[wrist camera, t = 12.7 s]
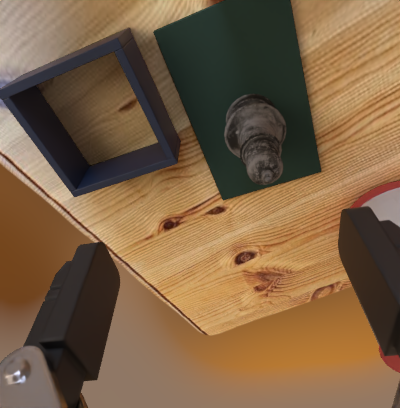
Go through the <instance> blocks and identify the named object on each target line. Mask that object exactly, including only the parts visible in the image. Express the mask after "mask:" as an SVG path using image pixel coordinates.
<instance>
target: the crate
mask: <svg viewBox="0 0 400 408" xmlns="http://www.w3.org/2000/svg"><path fill="white" fill-rule="evenodd" d="M114 51H115V55H116V57H117V59H118V61H119V63H120V65H121V67H122V69H123V71H124V73H125V75H126V77H127V79H128V81H129V83H130V85H131V87H132V89H133V91H134V93H135V95H136V97H137V99H138V101H139V103H140V105H141V107H142V109H143V111H144V113H145V115H146V117H147V119H148V121H149V123H150V125H151V127H152V129H153V131H154V133H155V136H156V138H157V140H158V143H155V144H152V145H150V146H147V147H144V148H141V149H138V150H135V151H132V152H130V153H127V154H124V155H121V156H118V157H115V158H112V159H109V160H107V161H104V162H101V163H98V164H95V165H92V166H89V164H88V163H87V161H86V160H85V158H84V157H83V155H82V154H81V152H80V151H79V149H78V148H77V146H76V145H75V143H74V142H73V140H72V139H71V137H70V136H69V134H68V133H67V131H66V130H65V128H64V127H63V125H62V124H61V122H60V121H59V119H58V118H57V116H56V115H55V113H54V112H53V110H52V109H51V107H50V106H49V104H48V103H47V101H46V100H45V98H44V96H43V95H42V93H41V92H40V90H39V89H38V87H37V86H36V85H38V84H40V83H42V82H45V81H47V80H49V79H52V78H54V77H56V76H59V75H61V74H63V73H66V72H68V71H70V70H72V69H75V68H77V67H79V66H82V65H84V64H86V63H89V62H91V61H93V60H96V59H98V58H100V57H103V56H105V55H107V54H109V53H112V52H114ZM0 98H1V99H2V100H3V102H4V103H5V105H6V106H7V107H8V109H9V110H10V111H11V113H12V114H13V115H14V117H15V118H16V119H17V121H18V122H19V123H20V125H21V126H22V127H23V129H24V130H25V131H26V133H27V134H28V136H29V137H30V138H31V140H32V141H33V142H34V144H35V145H36V146H37V148H38V149H39V150H40V152H41V153H42V154H43V156H44V157H45V158H46V160H47V161H48V162H49V164H50V165H51V166H52V168H53V169H54V171H55V172H56V173H57V175H58V176H59V177H60V179H61V180H62V181H63V183H64V184H65V185H66V187H67V188H68V189H69V191H71V193H72V195H73V196H74V197H77V196H80V195H83V194H86V193H89V192H92V191H95V190H98V189H101V188H104V187H107V186H111V185H114V184H117V183H120V182H123V181H126V180H129V179H132V178H135V177H138V176H141V175H144V174H147V173H150V172H153V171H156V170H159V169H162V168H165V167H168V166H172V165H175V164H177V163H178V156H179V149H180V142H181V141H180V139H179V137H178V134H177V132H176V130H175V128H174V125H173V123H172V121H171V119H170V117H169V114H168V112H167V110H166V108H165V105H164V103H163V101H162V99H161V97H160V94H159V92H158V90H157V88H156V85H155V83H154V81H153V79H152V77H151V74H150V72H149V70H148V68H147V65H146V63H145V61H144V59H143V57H142V54H141V52H140V50H139V48H138V45H137V43H136V41H135V39H134V37H133V34H132V32H131V30H130V28H127V29H124V30H122V31H120V32H118V33H115V34H113V35H111V36H109V37H106V38H104V39H102V40H100V41H97V42H95V43H93V44H91V45H88V46H86V47H84V48H82V49H79V50H77V51H75V52H73V53H71V54H68V55H66V56H64V57H62V58H59V59H57V60H55V61H53V62H50V63H48V64H46V65H44V66H41V67H39V68H37V69H35V70H32V71H30V72H28V73H26V74H23V75H21V76H20V77H18V78H16V79H15V80H13V81H12V82H10V83H8V84H7V85H5V86H4V87H2V88H0Z"/></svg>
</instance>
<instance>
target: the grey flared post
mask: <svg viewBox="0 0 400 408" xmlns="http://www.w3.org/2000/svg"><path fill="white" fill-rule="evenodd" d="M285 135H286V123H285V120H284V118H283V116H282V115H281V113H280V112H279V111H278V110H277V109H276V108H275V106H274V104H273V103H272V102H271V101H270V100H269V99H268V98H266V97H265V96H262V95H259V94H248V95H244V96H242V97H240V98H238V99H237V100H236V101H234V102H233V103H232V105H231V106H230V107H229V109H228V112H227V114H226V127H225V134H224V136H225V142H226V144H227V146H228V148H229V150H230V151H231V152H232V153H233V154H234V155H236V156H238V157H239V158H240V159H241V161H242V163H243V164H244V165H245V166H246V168H247V173H248V176H249V178H250V179H251V180H252V181H253V182H255V183H256V184H260V185H267V184H270V183H273V182H275V181H276V180H277V179H278V178H279V177H280V176H281V174H282V171H283V162H282V160H281V157H280V156H281V151H282V149H281V145H282V143H283V141H284V139H285Z"/></svg>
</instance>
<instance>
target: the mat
mask: <svg viewBox="0 0 400 408" xmlns="http://www.w3.org/2000/svg"><path fill="white" fill-rule="evenodd" d="M154 35H155V37H156V40H157V42H158V45H159V47H160V50H161V52H162V54H163V57H164V59H165V62H166V64H167V66H168V69H169V71H170V74H171V76H172V78H173V81H174V83H175V86H176V88H177V91H178V93H179V95H180V98H181V100H182V103H183V105H184V107H185V110H186V112H187V115H188V117H189V120H190V122H191V124H192V127H193V129H194V132H195V134H196V136H197V139H198V141H199V144H200V146H201V148H202V151H203V153H204V156H205V158H206V161H207V163H208V165H209V168H210V170H211V173H212V175H213V177H214V180H215V182H216V185H217V187H218V190H219V192H220V194H221V197H222V199H223V200H226V199H229V198H233V197H236V196H240V195H243V194H247V193H250V192H253V191H257V190H260V189H264V188H267V187H271V186H274V185H278V184H281V183H284V182H288V181H291V180H295V179H298V178H302V177H305V176H309V175H312V174H315V173H319V172H321V167H320V161H319V156H318V150H317V145H316V139H315V134H314V128H313V123H312V117H311V112H310V106H309V101H308V95H307V90H306V84H305V79H304V73H303V68H302V62H301V57H300V51H299V46H298V40H297V35H296V29H295V24H294V18H293V13H292V7H291V2H290V0H224V1H222V2H219V3H217V4H215V5H212V6H210V7H208V8H205V9H203V10H201V11H199V12H196V13H194V14H192V15H189V16H187V17H185V18H182V19H180V20H178V21H176V22H173V23H171V24H169V25H166V26H164V27H162V28H159V29H157V30H155V31H154ZM248 94H259V95H262V96H265V97H266V98H268V99H269V100H270V101H271V102H272V103H273V104H274V106H275V108H276V109H277V110H278V111H279V112H280V113H281V115H282V116H283V118H284V120H285V123H286V135H285V139H284V141H283V143H282V145H281V149H282V151H281V156H280V157H281V160H282V162H283V171H282V174H281V176H280V177H279V178H278V179H277V180H276V181H275V182H273V183H270V184H267V185H260V184H256V183H255V182H253V181H252V180H251V179H250V178H249V176H248V173H247V168H246V166H245V165H244V164H243V163H242V161H241V159H240V158H239V157H238V156H236V155H234V154H233V153H232V152H231V151H230V150H229V148H228V146H227V144H226V142H225V136H224V134H225V127H226V114H227V112H228V109H229V107H230V106H231V105H232V103H233V102H234V101H236V100H237V99H238V98H240V97H242V96H244V95H248Z"/></svg>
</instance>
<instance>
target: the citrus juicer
mask: <svg viewBox="0 0 400 408" xmlns="http://www.w3.org/2000/svg"><path fill="white" fill-rule="evenodd" d="M363 206H369V207H370V208H371V209H372V210H373V212H374V213H375V215H376V217H377V218H378V220H379V221H384V220H390V221H392V222H393V223H395V224H396V225H398V226H399V227H400V181H396V182H391V183H387V184H384V185H381V186H379V187H376V188H374V189H372V190H370V191H369V192H367V193H366V194H364V195H363V196H361V197H360V198H359V199H358V200H357V201H356V202H354V204H353V205H352V206H351V207H350V208H356V207H363ZM355 293H356V292H355ZM356 295H357V294H356ZM359 302H360V301H359ZM360 304H361V303H360ZM361 306H362V305H361ZM364 313H365V312H364ZM365 315H366V314H365ZM366 317H367V316H366ZM369 324H370V323H369ZM370 326H371V325H370ZM371 328H372V327H371ZM372 331H373V330H372ZM373 333H374V332H373ZM374 335H375V334H374ZM375 337H376V336H375ZM376 340H377V339H376ZM377 342H378V341H377ZM378 344H379V343H378ZM379 352H380V356H381V358H382V359H383V361H384V362H385V363H386V364H387V365H388V366H389V367H390V368H392V369H393V370H395V371H397V372H399V373H400V358H399V356H398V355H394V356H384V354H383V352H382V350H381V347H380V345H379Z"/></svg>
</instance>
